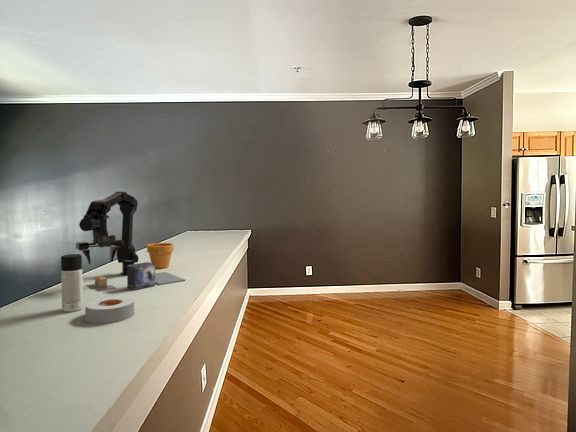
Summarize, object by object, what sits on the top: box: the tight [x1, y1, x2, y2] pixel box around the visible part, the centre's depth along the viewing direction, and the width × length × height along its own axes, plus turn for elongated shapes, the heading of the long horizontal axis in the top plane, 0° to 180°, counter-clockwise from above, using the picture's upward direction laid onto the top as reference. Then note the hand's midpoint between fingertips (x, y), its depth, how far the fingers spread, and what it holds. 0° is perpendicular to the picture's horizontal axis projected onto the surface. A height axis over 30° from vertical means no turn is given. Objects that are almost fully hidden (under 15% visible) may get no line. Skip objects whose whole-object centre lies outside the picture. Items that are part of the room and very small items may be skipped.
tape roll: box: [84, 296, 135, 325], centre depth 129 cm, size 15×15×5 cm
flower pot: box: [146, 242, 174, 270], centre depth 210 cm, size 14×14×13 cm
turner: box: [94, 274, 117, 292], centre depth 166 cm, size 14×7×4 cm, turn 43°
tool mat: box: [155, 271, 186, 286], centre depth 183 cm, size 22×13×1 cm, turn 43°
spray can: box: [60, 253, 84, 313], centre depth 134 cm, size 7×7×20 cm
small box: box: [126, 261, 156, 291], centre depth 167 cm, size 11×6×10 cm, turn 143°
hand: (100, 263), depth 168 cm, fingers open, 9 cm apart
